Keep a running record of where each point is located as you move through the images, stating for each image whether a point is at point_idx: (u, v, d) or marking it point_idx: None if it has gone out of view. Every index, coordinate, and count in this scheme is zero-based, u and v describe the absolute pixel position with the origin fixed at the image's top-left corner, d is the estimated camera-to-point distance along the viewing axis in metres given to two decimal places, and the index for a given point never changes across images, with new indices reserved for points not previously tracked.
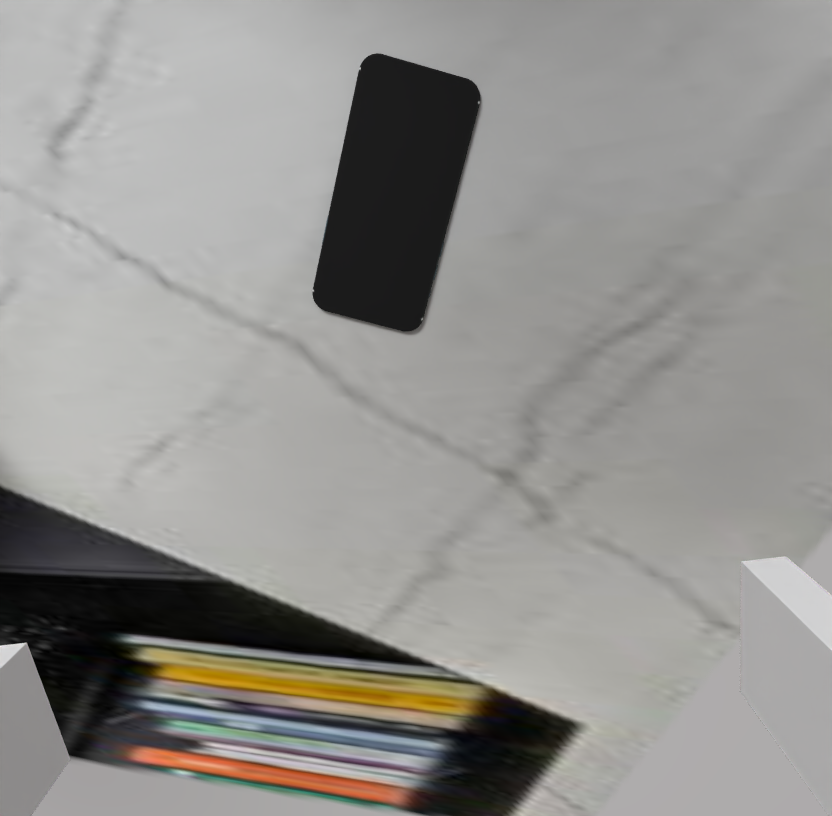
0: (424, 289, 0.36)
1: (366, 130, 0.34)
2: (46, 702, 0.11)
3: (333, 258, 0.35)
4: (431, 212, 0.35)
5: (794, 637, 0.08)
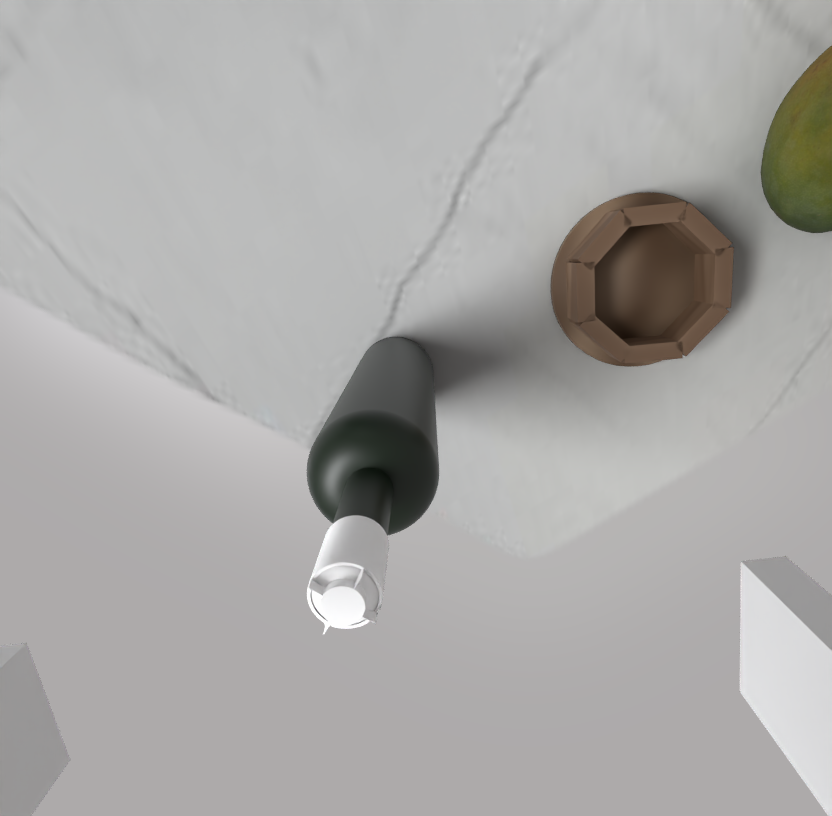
0: None
1: None
2: (45, 702, 0.11)
3: None
4: None
5: (794, 636, 0.08)
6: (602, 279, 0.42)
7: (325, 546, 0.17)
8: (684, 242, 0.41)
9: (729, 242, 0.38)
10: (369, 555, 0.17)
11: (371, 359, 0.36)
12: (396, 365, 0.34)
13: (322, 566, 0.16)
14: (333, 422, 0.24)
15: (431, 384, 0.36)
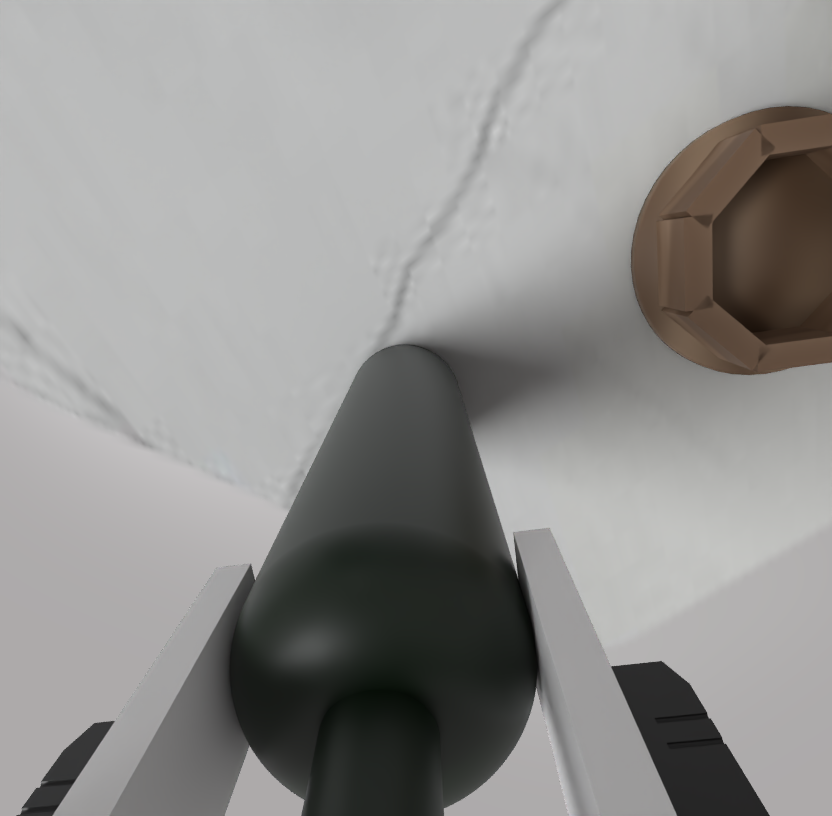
0: None
1: None
2: None
3: None
4: None
5: (527, 588, 0.11)
6: (712, 245, 0.27)
7: None
8: None
9: None
10: None
11: (368, 383, 0.22)
12: (412, 394, 0.19)
13: None
14: (285, 559, 0.10)
15: (468, 420, 0.22)
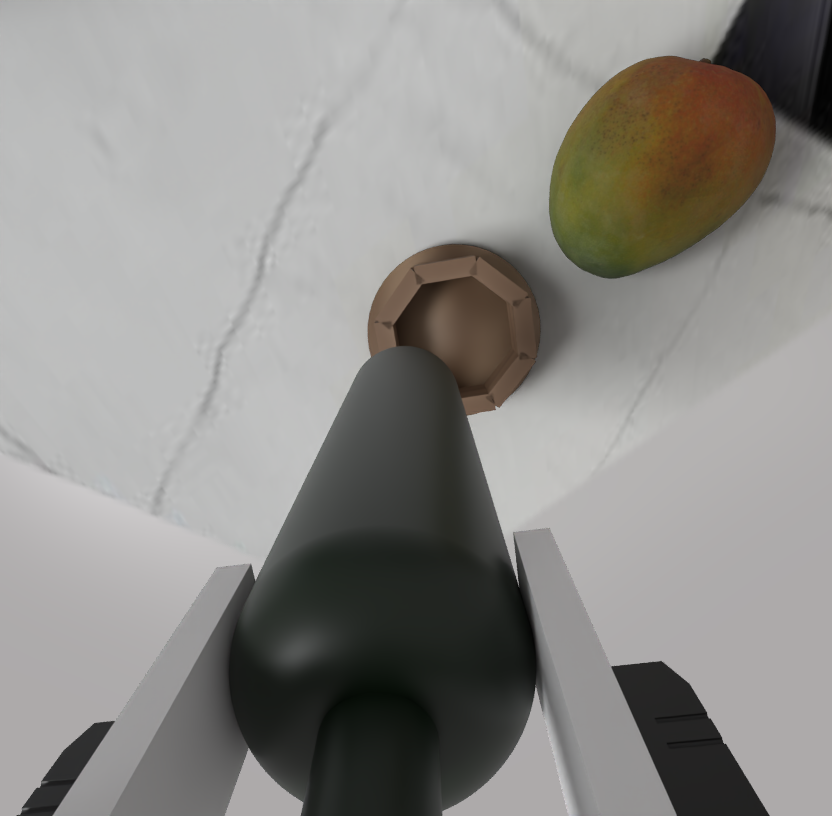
0: None
1: None
2: None
3: None
4: None
5: (527, 588, 0.11)
6: (417, 332, 0.41)
7: None
8: (493, 291, 0.40)
9: (525, 293, 0.37)
10: None
11: (368, 385, 0.22)
12: (411, 396, 0.19)
13: None
14: (284, 561, 0.10)
15: (467, 421, 0.22)
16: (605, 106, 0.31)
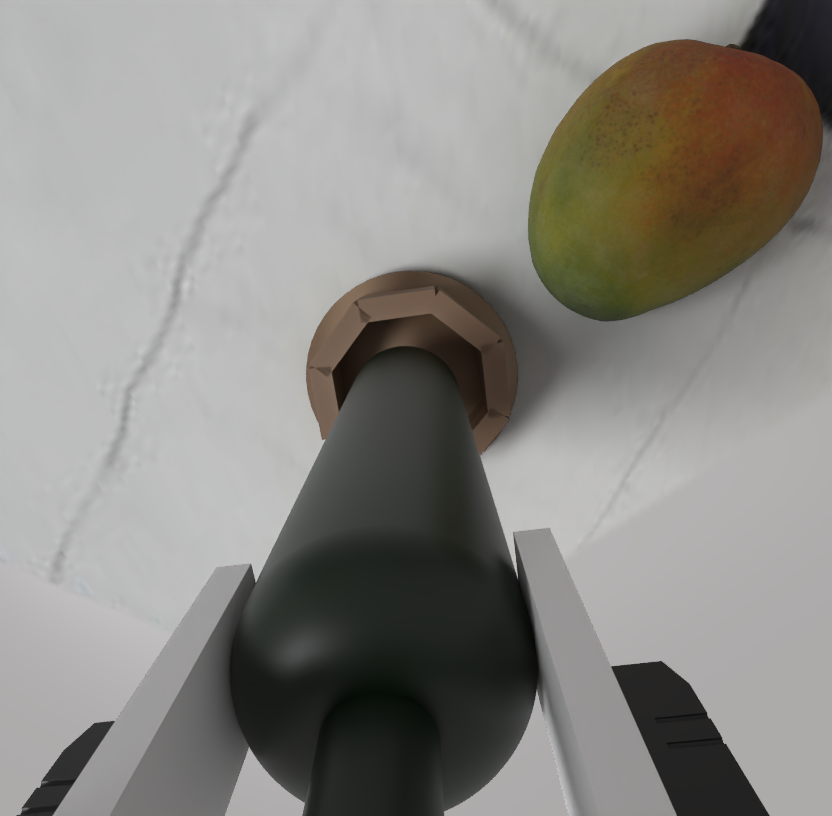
0: None
1: None
2: None
3: None
4: None
5: (527, 588, 0.11)
6: None
7: None
8: None
9: (497, 336, 0.30)
10: None
11: (369, 385, 0.22)
12: (412, 396, 0.19)
13: None
14: (286, 561, 0.10)
15: (468, 421, 0.22)
16: (600, 103, 0.23)
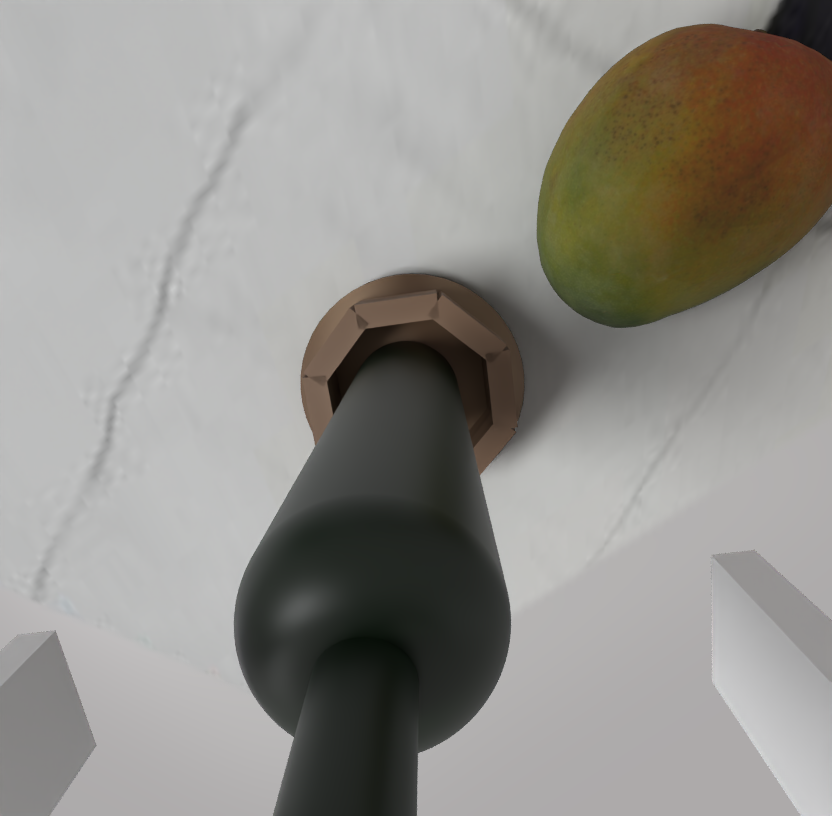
0: None
1: None
2: (73, 688, 0.11)
3: None
4: None
5: (758, 626, 0.09)
6: None
7: None
8: None
9: (503, 344, 0.28)
10: None
11: (369, 376, 0.23)
12: (408, 386, 0.21)
13: None
14: (284, 525, 0.11)
15: (463, 411, 0.23)
16: (617, 92, 0.22)
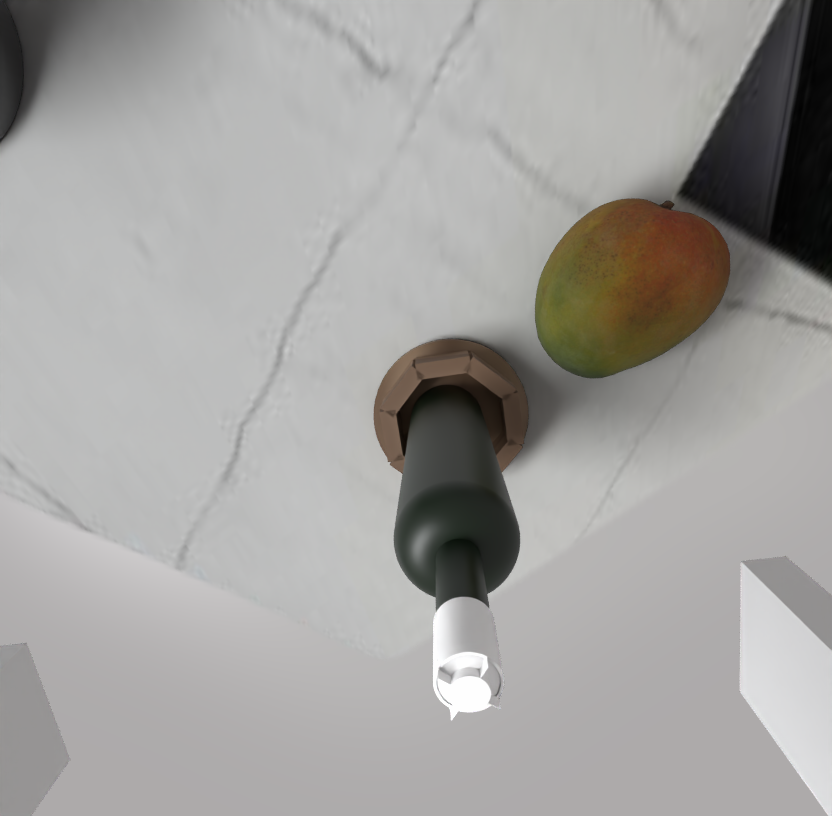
0: None
1: None
2: (45, 702, 0.11)
3: None
4: None
5: (794, 636, 0.08)
6: None
7: (442, 631, 0.18)
8: None
9: (513, 388, 0.42)
10: (487, 641, 0.18)
11: (430, 414, 0.38)
12: (458, 422, 0.35)
13: (447, 655, 0.17)
14: (418, 494, 0.25)
15: (489, 435, 0.38)
16: (581, 243, 0.36)
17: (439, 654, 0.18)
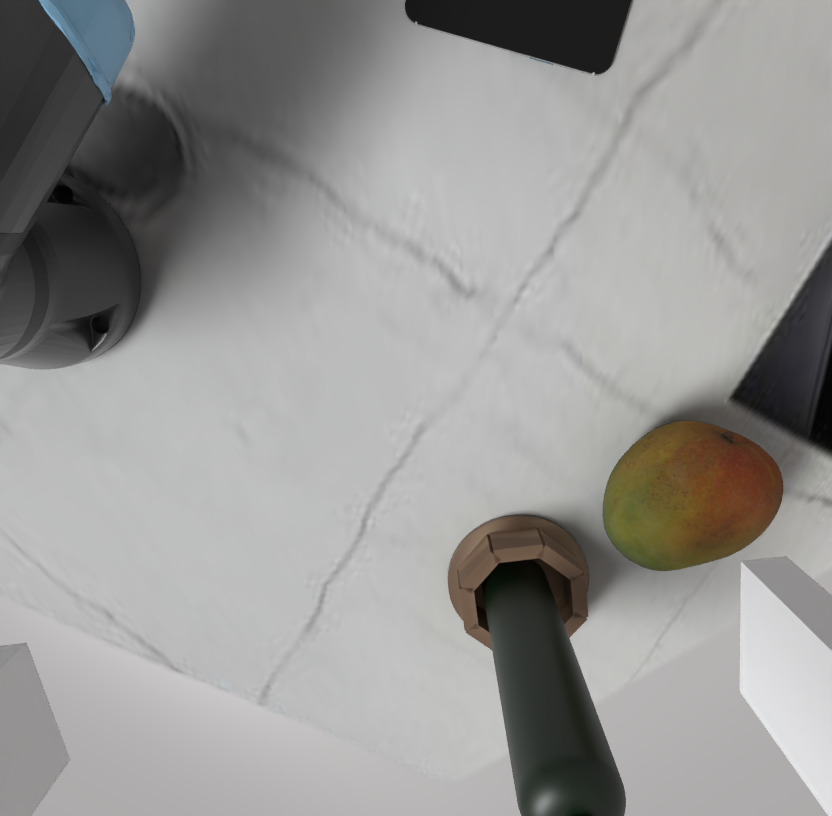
0: None
1: (463, 16, 0.40)
2: (46, 702, 0.11)
3: (566, 51, 0.40)
4: None
5: (794, 636, 0.08)
6: None
7: None
8: None
9: (581, 571, 0.47)
10: None
11: (515, 614, 0.42)
12: (546, 635, 0.40)
13: None
14: (542, 764, 0.30)
15: None
16: (654, 473, 0.40)
17: None
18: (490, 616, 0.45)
